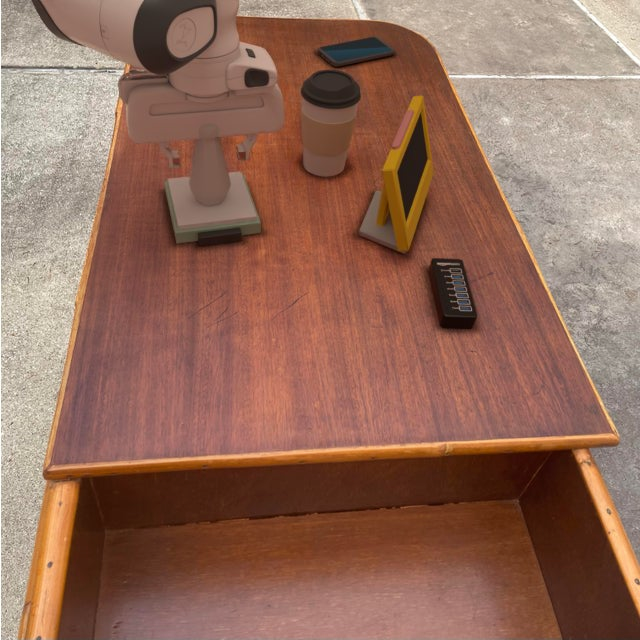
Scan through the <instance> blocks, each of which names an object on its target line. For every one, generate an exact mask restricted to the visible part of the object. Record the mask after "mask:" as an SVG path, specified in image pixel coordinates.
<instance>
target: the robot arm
mask: <svg viewBox="0 0 640 640" xmlns="http://www.w3.org/2000/svg"><path fill="white" fill-rule="evenodd" d="M30 1H31V3H32V6H33V7H34V9H35V11H36V12H37V14H38V16H39V18H40V20H41V22H42V24H44V26H45V27H46V29H48V31H50V33H51V34H53V35H54V36H55V37H56V38H58V39H60V40H62V41H65V42H68V43H70V44H74V45H77V46H81V47H84V48H88V49H91V50H92V51H94V52H97V53H100V54H102V55H104V56H107V57H109V58H111V59H113V60H116V61H119V62H121V63H124V64H126V65H128V66H131V67H134V68H130V69H128V72H126V73H124V74H122V75H121V76H120V77H119V79H118V81H117V89H118V95H119V98H120V100H121V102H122V103H123V104H125V118H126V127H127V133H128V138H129V139H130V140H131V141H132V142H133V143H134V144H136V145H145V144H157V145H158V149H159V150H160V152H161V153H162V154H163V155H164V156H165V158H167V163H168V167H169V169H175V168H181V157H180V154H179V150H178V149H171V147H170V146H171V145H170V142H179V141H180V142H181V141H191V140H195V139H200V138H199V127H201V126H202V125H205V124H215V125H217V127H218V130H219V132H218V134H219V135H218V137H220V138H225V137H236V136H245V138H244V139H243V141H242V143H239V144H236V146H235V147H236V152H235V153H236V159H237V161H238V162H246V161H250V151H251V150H252V148H253V147H254V146H255V144H256V143H257V141H258V135H259V134H270V133H271V134H272V133H273V134H274V133H278V132H279V131H281V129H282V128H283V127H284V125H285V105H284V97H283V93H282V91H281V88H280V86H279V84H278V70H277V66H276V64H275V62H274V60H273V58H272V57H271V55H270V54H269V52H268V51H267V50H266V49H265V48H264V47H261V46H259V45H254V44H251V43H247V42H243V41H241V40H240V35H239V31H238V28H237V16H238V13H239V8H240V0H30Z"/></svg>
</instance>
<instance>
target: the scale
mask: <svg viewBox="0 0 640 640" xmlns="http://www.w3.org/2000/svg"><path fill="white" fill-rule="evenodd" d="M228 174H229V178H230V182H231V186H230V189H229V191H228V193H227V195H226V197H225V199H224V200H223V201H222V202H221V203H220V205H213V206H206V205H204V204H202V203H200V202H198V201H197V200H196V199H195V197H194V195H193V194H192V192H191V189H190V185H189V179H190V176H181V177H173V178H171V177H170V178H167V181H163V182H164V183H163V184H164V191H165V197H166V201H167V206H168V211H169V216H170V219H171V224H172V229H173V233H174V234H173V235H174V238H175V242H176V243H175V244H185V243H193V242H198V245H199V247H208V246H215V245H222V244H229V243H238V242H243V236H248V235H249V236H250V235H255V234H261V232H262V221H261V219H260V216H259V213H258V210H257V207H256V205H255V202H254V199H253V196H252V193H251V191H250V188H249V185H248V182H247V179H246V177H245V174H244V173H242V171H230V172H228Z"/></svg>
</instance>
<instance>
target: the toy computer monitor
mask: <svg viewBox="0 0 640 640" xmlns="http://www.w3.org/2000/svg"><path fill="white" fill-rule="evenodd" d="M425 105H426V104H425V98H424V96H423V95H421V94H420V95H414V96H413V97H412V99H411V101H410V103H409V105H408V108H407V110H406V112H405V113H404V116H403V118H402V121H401V123H400V126H399V128H398V130H397V133H396V134H395V137H394V139H393V142H392V144H391V149H390V150H389V153H388V155H387V157H386V160H385V162H384V164H383V167H382V169H381V174H382V179H383V183H382V187H381V190H379V189H377V190H375V191H374V194H373V196H372V199H371V200H370V203H369V205H368V209H367V211H366V213H365V215H364V218H363V221H362V223H361V226H360V227H359V231H358V235H359V236H360V237H362V238H365V239H367V240H369V241H371V242H375V243H377V244H380V245H382V246H384V247H386V248H389V249H392V250H394V251H396V252H399V253H401V254H403V255H405V254H407V252H408V251H409V250H410V247H411V245H412V241H413V238H414V235H415V232H416V229H417V226H418V223H419V220H420V217H421V213H422V211H423V208H424V204H425V201H426V198H427V195H428V192H429V190H430V187H431V183H432V180H433V176H434V174H435V170H434V163H433V154H432V148H431V141H430V135H429V127H428V119H427V113H426V106H425Z"/></svg>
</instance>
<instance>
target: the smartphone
mask: <svg viewBox="0 0 640 640" xmlns="http://www.w3.org/2000/svg"><path fill="white" fill-rule="evenodd" d="M317 54H318V55H319V56H320V57H321V58H322V59H324V60H325V61H326V62H327V63H328V64H329V65H331V66H333V67H334V68H335V67H336V68H339V67H343V66H349V65H354V64H357V63H363V62H366V61H367V62H368V61H372V60H376V59H381V58H386V57H391V56H393V55H394V54H395V50H394V48H393V47H391V46H390V45H389V44H387V43H386V42H385V41H383V40H382V39H380V37H377V36H370V37H369V36H368V37H363V38H360V39H355V40H350V41H343V42H338V43H334V44H329V45H328V44H327V45H324V46H323V45H322V46H319V47H318V48H317Z"/></svg>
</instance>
